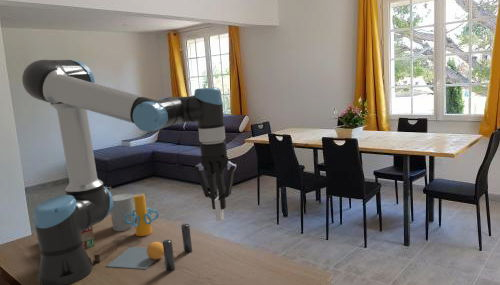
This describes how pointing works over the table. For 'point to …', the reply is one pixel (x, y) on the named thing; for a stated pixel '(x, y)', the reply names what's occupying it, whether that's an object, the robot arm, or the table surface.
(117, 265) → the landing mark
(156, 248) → the ball
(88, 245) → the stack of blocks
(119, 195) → the white tapered bucket
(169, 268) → the post
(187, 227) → the post
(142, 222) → the cylinder
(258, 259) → the table surface
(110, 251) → the stopper wall
